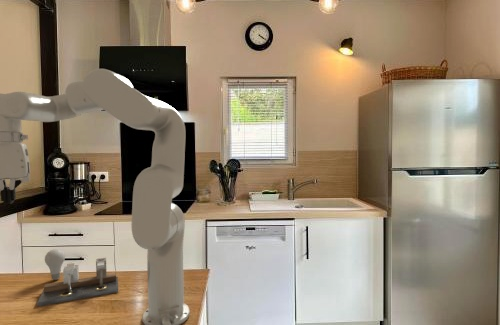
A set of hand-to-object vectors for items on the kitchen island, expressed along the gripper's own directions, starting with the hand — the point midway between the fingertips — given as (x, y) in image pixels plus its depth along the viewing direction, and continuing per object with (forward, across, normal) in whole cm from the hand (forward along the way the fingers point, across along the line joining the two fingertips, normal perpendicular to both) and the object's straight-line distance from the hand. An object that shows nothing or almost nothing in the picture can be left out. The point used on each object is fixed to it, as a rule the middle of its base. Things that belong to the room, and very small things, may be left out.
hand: (8, 203), depth 89 cm
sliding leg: (+29, -14, -5) cm, 33 cm away
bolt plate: (+31, -17, -4) cm, 36 cm away
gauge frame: (+30, -17, -5) cm, 35 cm away
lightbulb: (+31, -8, -18) cm, 37 cm away
